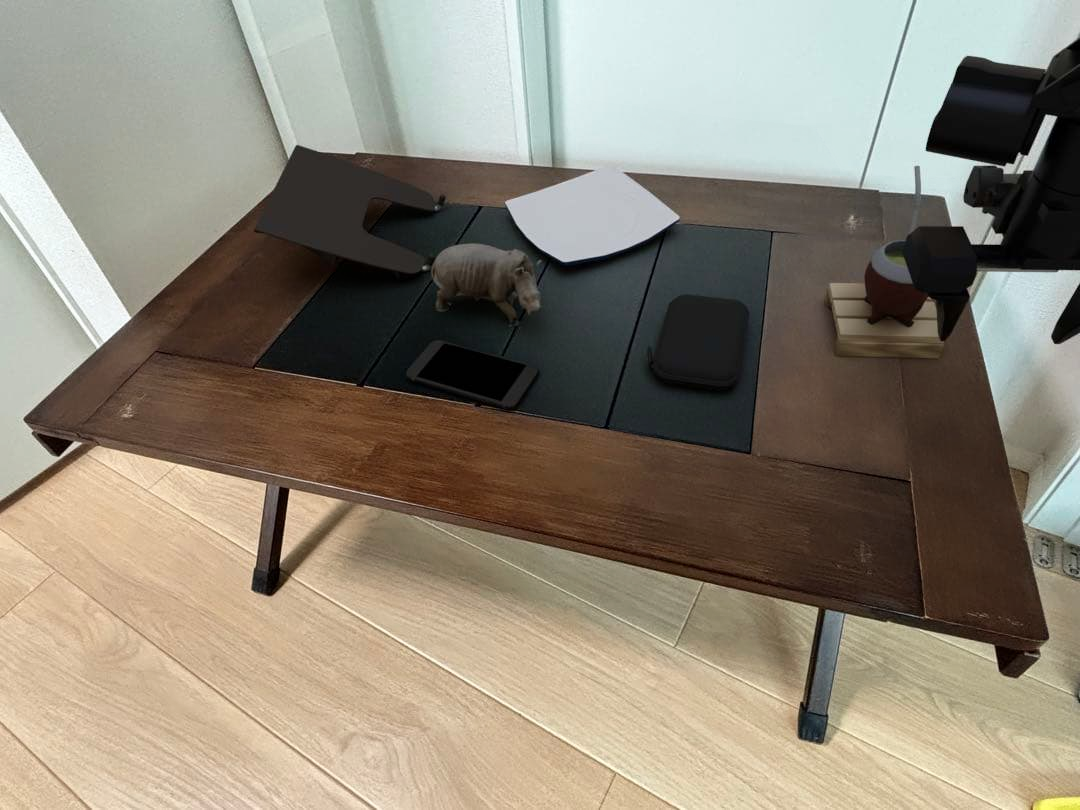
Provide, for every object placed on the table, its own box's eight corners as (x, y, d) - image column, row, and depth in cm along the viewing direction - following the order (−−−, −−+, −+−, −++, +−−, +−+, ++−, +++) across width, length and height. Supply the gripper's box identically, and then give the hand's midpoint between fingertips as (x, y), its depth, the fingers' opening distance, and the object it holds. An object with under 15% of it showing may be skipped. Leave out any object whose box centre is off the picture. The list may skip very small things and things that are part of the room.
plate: (689, 235, 101) (691, 218, 99) (562, 285, 95) (560, 268, 93) (614, 175, 114) (613, 159, 112) (498, 216, 108) (495, 200, 106)
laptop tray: (415, 321, 102) (433, 271, 96) (248, 272, 96) (255, 216, 90) (432, 231, 118) (448, 183, 112) (289, 184, 112) (298, 131, 106)
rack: (919, 302, 87) (926, 282, 85) (938, 358, 80) (947, 338, 78) (824, 300, 88) (829, 281, 86) (835, 355, 82) (840, 335, 80)
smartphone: (434, 341, 89) (433, 335, 89) (542, 370, 84) (542, 364, 83) (402, 380, 85) (400, 375, 84) (514, 414, 80) (513, 408, 79)
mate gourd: (892, 341, 78) (935, 221, 67) (835, 305, 83) (867, 188, 72) (938, 314, 81) (986, 194, 70) (880, 280, 85) (917, 164, 75)
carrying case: (662, 304, 91) (639, 385, 81) (663, 285, 88) (639, 365, 79) (749, 314, 88) (735, 399, 78) (752, 295, 86) (738, 379, 76)
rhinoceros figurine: (443, 258, 97) (480, 193, 85) (523, 319, 99) (571, 265, 87) (412, 295, 94) (446, 233, 81) (495, 359, 95) (542, 308, 83)
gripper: (1172, 123, 56) (1080, 285, 67) (916, 127, 59) (869, 282, 70) (1247, 199, 48) (1130, 367, 60) (949, 200, 51) (891, 360, 62)
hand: (997, 339), depth 63 cm, fingers open, 9 cm apart
